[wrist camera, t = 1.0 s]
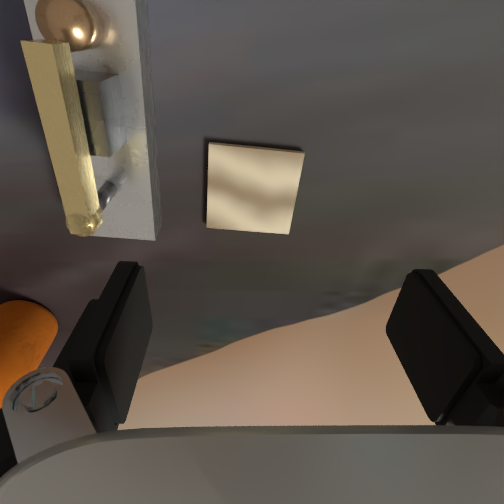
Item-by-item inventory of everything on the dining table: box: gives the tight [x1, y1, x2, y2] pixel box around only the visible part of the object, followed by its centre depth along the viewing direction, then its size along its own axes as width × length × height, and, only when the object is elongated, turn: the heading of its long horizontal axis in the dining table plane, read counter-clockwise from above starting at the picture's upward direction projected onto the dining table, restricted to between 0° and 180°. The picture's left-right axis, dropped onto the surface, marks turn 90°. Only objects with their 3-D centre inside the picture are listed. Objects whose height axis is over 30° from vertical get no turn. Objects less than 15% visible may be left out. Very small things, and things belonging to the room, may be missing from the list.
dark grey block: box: [74, 69, 127, 157], centre depth 29 cm, size 6×5×5 cm
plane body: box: [24, 0, 162, 240], centre depth 32 cm, size 24×9×9 cm, turn 174°
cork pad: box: [207, 142, 305, 234], centre depth 40 cm, size 11×11×1 cm
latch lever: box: [21, 39, 103, 236], centre depth 27 cm, size 15×2×2 cm, turn 174°
